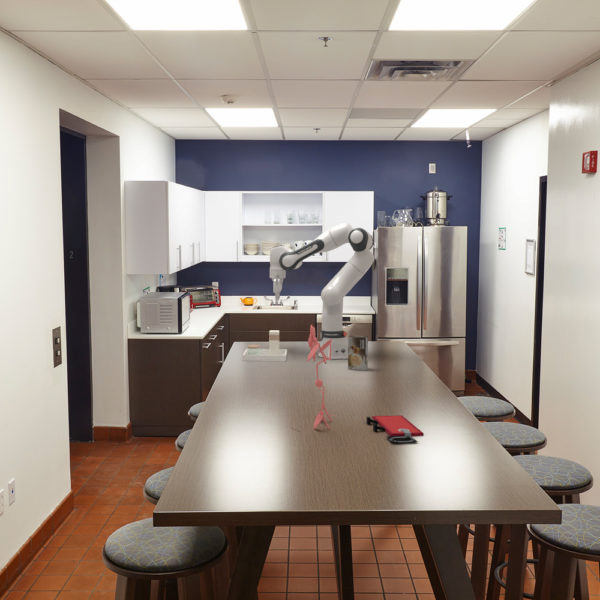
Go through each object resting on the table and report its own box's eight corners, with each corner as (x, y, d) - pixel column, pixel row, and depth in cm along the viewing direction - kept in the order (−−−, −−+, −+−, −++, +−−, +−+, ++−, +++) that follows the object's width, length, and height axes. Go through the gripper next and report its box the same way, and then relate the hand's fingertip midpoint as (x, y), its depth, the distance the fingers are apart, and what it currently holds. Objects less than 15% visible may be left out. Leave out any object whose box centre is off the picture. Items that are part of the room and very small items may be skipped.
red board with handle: (386, 445, 208) (431, 444, 210) (386, 436, 207) (431, 435, 210) (361, 419, 237) (401, 419, 240) (362, 412, 237) (402, 411, 239)
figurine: (335, 414, 241) (334, 320, 238) (329, 436, 216) (328, 331, 212) (294, 413, 243) (292, 320, 240) (283, 435, 218) (281, 330, 214)
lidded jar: (260, 357, 345) (260, 344, 345) (259, 359, 339) (259, 346, 338) (248, 357, 345) (248, 344, 345) (246, 359, 339) (246, 346, 338)
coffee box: (368, 367, 325) (368, 335, 324) (365, 370, 319) (366, 337, 317) (350, 366, 328) (350, 334, 326) (347, 369, 322) (347, 336, 320)
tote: (287, 356, 353) (287, 349, 353) (285, 363, 335) (285, 355, 335) (246, 356, 353) (246, 348, 353) (242, 362, 335) (242, 355, 335)
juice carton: (279, 356, 348) (279, 330, 346) (278, 358, 342) (279, 331, 341) (269, 356, 348) (269, 330, 346) (269, 358, 343) (269, 331, 341)
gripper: (282, 276, 353) (282, 301, 355) (284, 273, 373) (284, 298, 375) (270, 276, 353) (270, 301, 355) (273, 273, 374) (273, 297, 375)
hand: (277, 299), depth 365 cm, fingers open, 8 cm apart
